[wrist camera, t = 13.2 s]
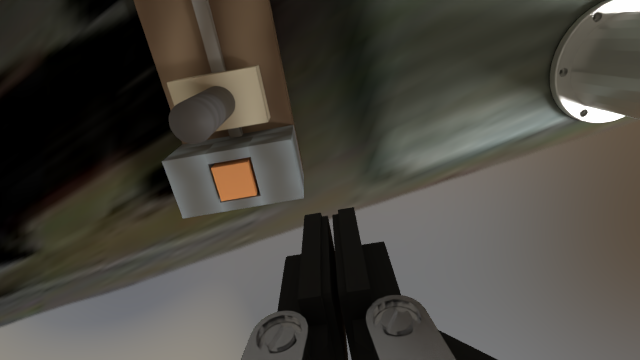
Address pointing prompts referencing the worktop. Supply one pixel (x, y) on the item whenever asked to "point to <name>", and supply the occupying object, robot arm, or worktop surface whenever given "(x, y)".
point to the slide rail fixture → (216, 56)
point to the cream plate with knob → (217, 103)
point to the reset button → (235, 179)
